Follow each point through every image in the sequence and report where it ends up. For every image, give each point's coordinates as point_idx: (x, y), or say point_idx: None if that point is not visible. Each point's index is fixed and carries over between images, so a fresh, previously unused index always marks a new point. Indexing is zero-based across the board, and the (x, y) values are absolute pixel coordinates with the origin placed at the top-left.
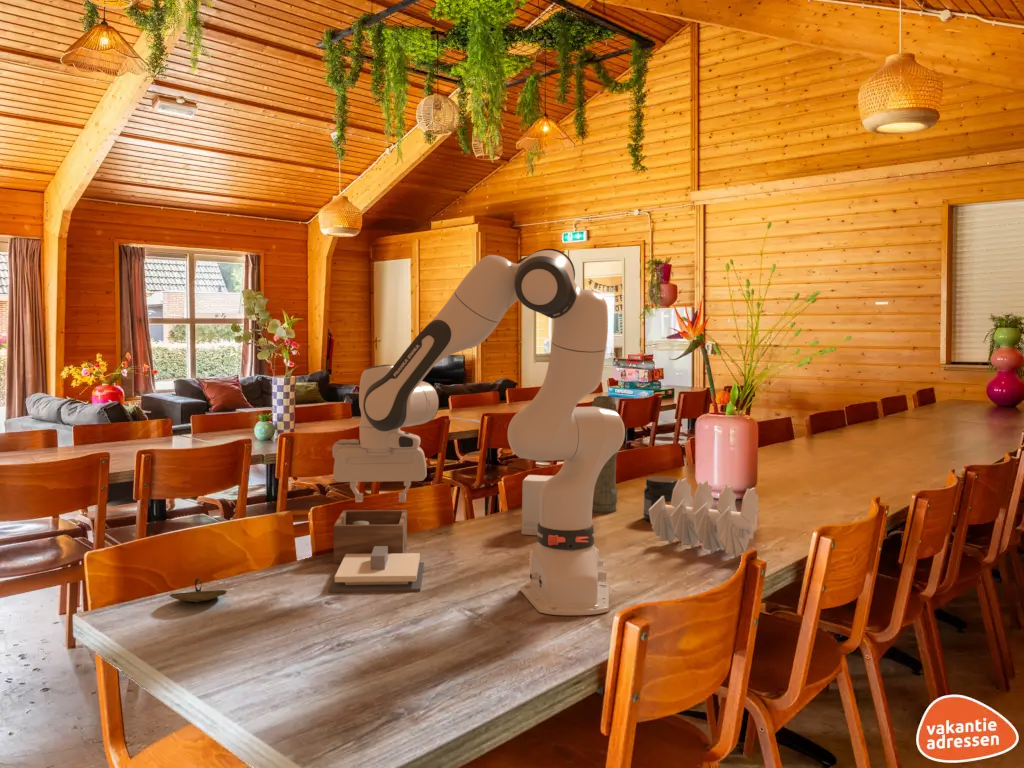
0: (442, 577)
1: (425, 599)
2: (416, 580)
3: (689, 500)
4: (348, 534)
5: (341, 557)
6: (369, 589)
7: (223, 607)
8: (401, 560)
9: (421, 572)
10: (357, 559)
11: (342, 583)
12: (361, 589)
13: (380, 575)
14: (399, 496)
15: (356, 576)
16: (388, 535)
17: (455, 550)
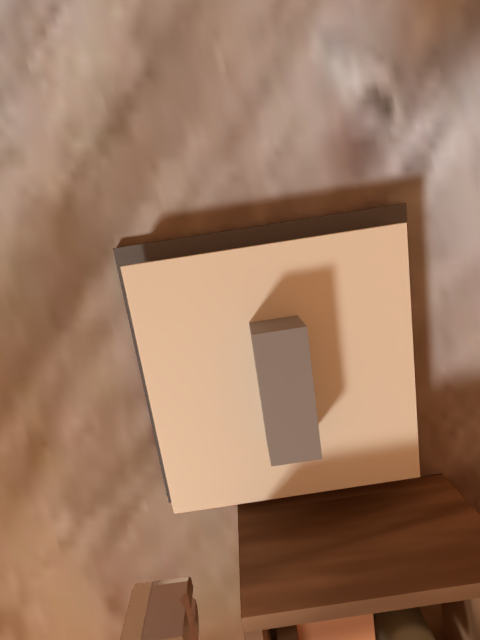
0: (82, 390)
1: (78, 172)
2: None
3: None
4: (449, 553)
5: (429, 489)
6: (275, 223)
7: None
8: (216, 430)
9: (150, 406)
10: (368, 422)
11: None
12: (300, 219)
13: (247, 255)
14: (178, 612)
15: (330, 235)
16: (294, 571)
17: (110, 634)
